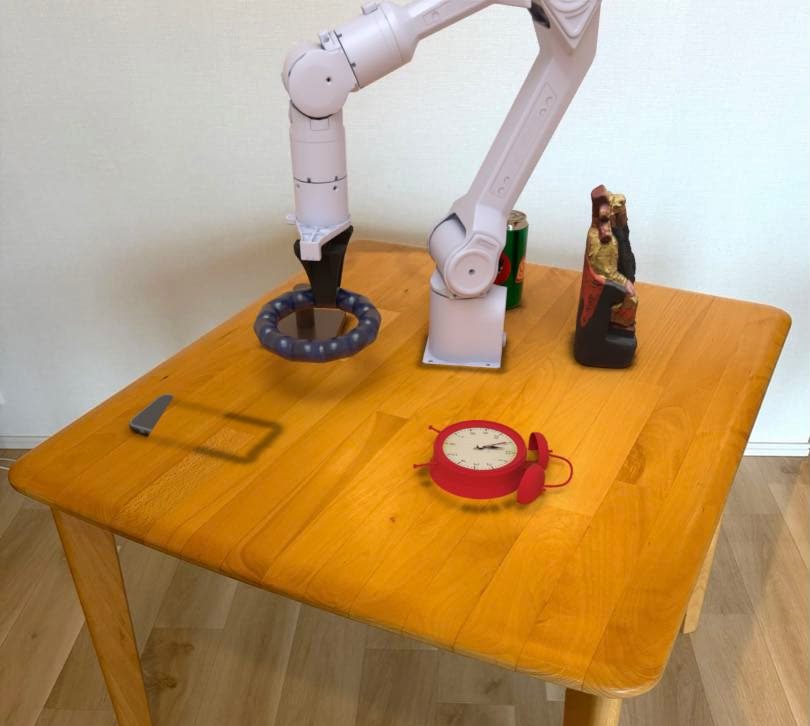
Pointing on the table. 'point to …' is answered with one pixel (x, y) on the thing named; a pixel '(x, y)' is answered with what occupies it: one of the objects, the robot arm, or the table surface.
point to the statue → (607, 287)
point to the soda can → (513, 258)
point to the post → (313, 322)
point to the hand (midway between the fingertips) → (327, 296)
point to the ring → (317, 349)
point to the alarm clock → (489, 461)
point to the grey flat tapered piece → (150, 414)
